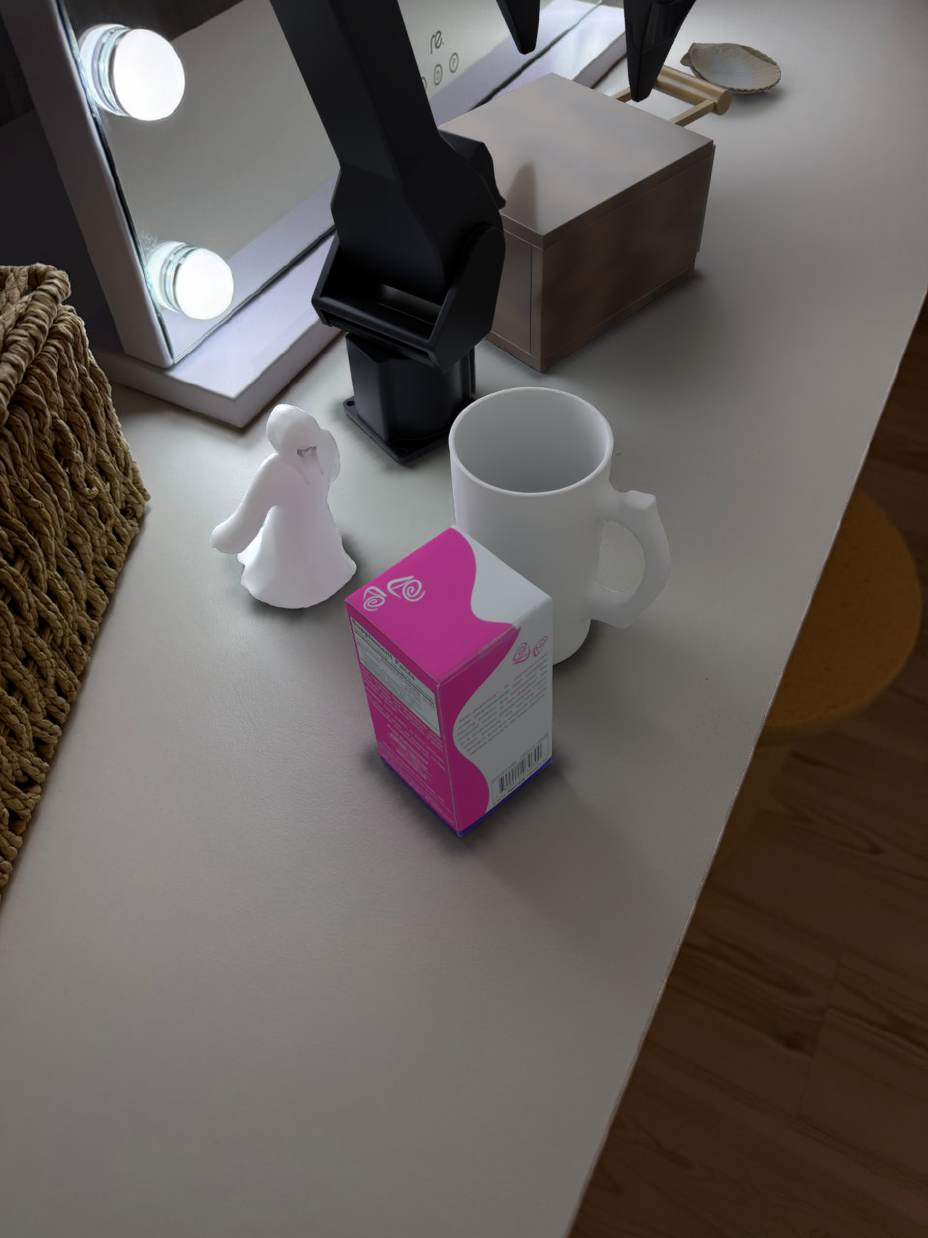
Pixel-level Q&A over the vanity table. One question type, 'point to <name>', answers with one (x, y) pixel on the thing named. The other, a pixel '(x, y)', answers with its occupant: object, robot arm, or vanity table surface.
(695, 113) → the drawer
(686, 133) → the cabinet
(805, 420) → the vanity table surface
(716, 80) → the seashell
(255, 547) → the figurine
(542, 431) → the mug
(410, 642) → the supplement box
